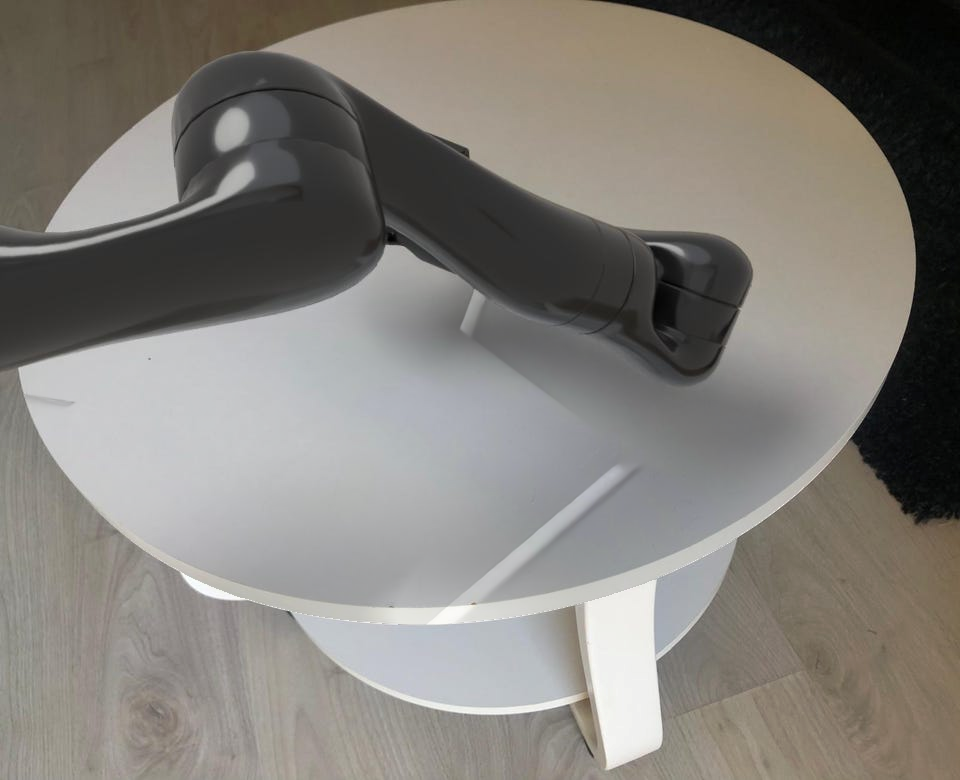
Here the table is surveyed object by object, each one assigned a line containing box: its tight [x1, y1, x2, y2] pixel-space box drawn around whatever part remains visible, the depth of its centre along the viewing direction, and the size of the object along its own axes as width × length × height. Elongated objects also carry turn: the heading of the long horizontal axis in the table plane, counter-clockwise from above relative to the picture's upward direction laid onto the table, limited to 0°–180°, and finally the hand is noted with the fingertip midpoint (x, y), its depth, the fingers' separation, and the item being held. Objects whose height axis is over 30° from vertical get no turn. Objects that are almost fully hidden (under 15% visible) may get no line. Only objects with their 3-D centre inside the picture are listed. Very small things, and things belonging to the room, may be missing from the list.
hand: (321, 169), depth 81 cm, fingers open, 8 cm apart
